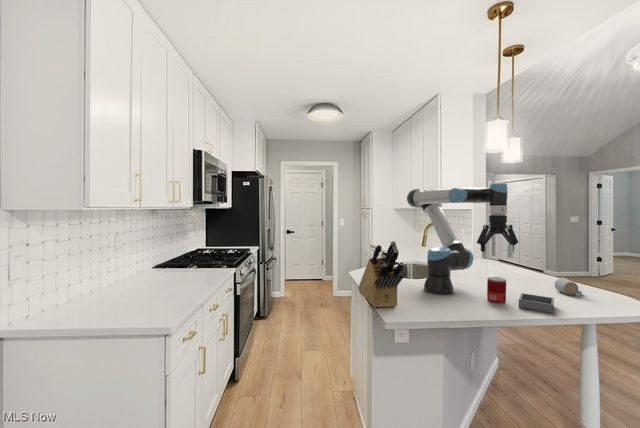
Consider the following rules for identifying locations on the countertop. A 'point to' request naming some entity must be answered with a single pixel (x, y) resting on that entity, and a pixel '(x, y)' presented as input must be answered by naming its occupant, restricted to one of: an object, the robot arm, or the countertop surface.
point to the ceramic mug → (567, 286)
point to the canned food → (496, 289)
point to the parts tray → (536, 303)
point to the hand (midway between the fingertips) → (497, 258)
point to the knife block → (382, 278)
